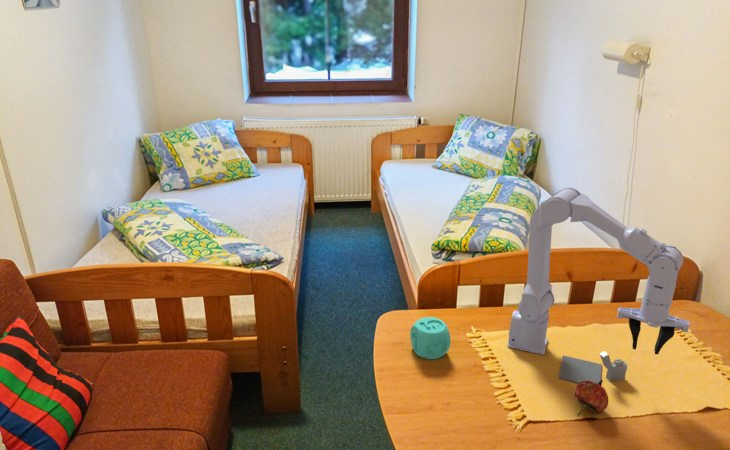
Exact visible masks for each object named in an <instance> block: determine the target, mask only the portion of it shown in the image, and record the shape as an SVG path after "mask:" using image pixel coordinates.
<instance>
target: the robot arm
mask: <svg viewBox="0 0 730 450" xmlns="http://www.w3.org/2000/svg"><path fill="white" fill-rule="evenodd" d="M569 218H570V223H575V222H576V223H579V222H587V223H589V224H591V225H592V226H594V227H596V228H597V229H599V230H601V231H603V232H604V233H606V234H607V235H609V236H611V237H612V238H614V239H616V240H617V242H618V245H619V248H620V249H622V250H623V251H624V252H625V253H627V254H629V255H630V256H632V257H633V258H635V260H638V261H639V262H641V263H642V264H643V265H646V266H647V270H648V272H649V273H648V277H647V279H646V283H645V288H644V292H643V296H642V300H641V305H640V308H634V307H633V308H631V307H629V308H628V307H622V306H620V307H619V306H618V310H617V315H616V317H617V319H628V326H629V329H630V333H631V338H632V345H631V347H632V350H635V351H636V349H637V348H638V347H637V346H638V339H639V335H640V331H641V330H642V329H641V328H642V327H641V324H642V323H645V324H647V325H648V327H651V328H656V329H657V328H659V331H658V335H657V339H656V341H655V345H654V350H653V351H654V354H655V355H659V353H660V352H661V350H662V349H663V347H664V346H665V344H666V343H667V342H669V340H672V338H673V337H674V335H675V333H676V332H675V329H677V330H681V331H682V333H688V332H689V330H690V329H689V328H690V320H687V319H682V318H680V317H676V316H673V315H671V314H669V313H670V309H671V306H672V302H673V298H674V294H675V290H676V288H677V287H676V286H677V280H678V274H679V270H680V269H681V267H682V266H683V263H684V255H683V254H682V252H681V251H680V250H679V249H678V248H677V247H676V246H674V245H668V244H666V243H665V242H662V243H661V242H660V241H658V240H657V239H655V237H654V238H653V237H652V236H651V235H649V234H648V231H647V230H646V229H645V228H641V229H640V228H638V226H637V227H636V226H635V227H627V226H626V225H624V224H623V223H622V222H620V221H619V220H618V219H616V218H615V217H614V216H612V215H611V214H610V213H608V212H607V211H605V210H604V209H603V208H601V207H600V206H598V205H597V204H596V203H594V201H593V200H591V199H590V197H589V196H588V195H587V194H585V193H581V192H580V191H579V190H578V189H576V188H573V187H564V188H562V189H560V190H559V191H557V192H555V193H553V195H551V196H550V197H548V198H547V199H546V200H544V201H542V202H540V204H539V206H538V207H537V209H535V211H534V213H532V215H531V216H530V219H529V233H528V236H529V237H528V253H527V254H528V255H527V258H528V259H527V275H526V277H527V278H526V285H525V287H524V289H523V292H522V294H521V300H520V301H519V303H518V305H517V310H513V312H512V315H511V318H510V319H511V320H510V327H509V329H508V341H507V347H508V348H513V349H515V350H516V349H517V350H520V351H525V352H529V353H533V354H536V355H541V356H544V355H545V353H546V348H547V344H548V341H549V340H548V339H549V338H548V337H547V331H548V325H549V320H550V319H549V318H550V314H549V309H550V308H551V307H553V306H554V303H555V296H554V293H553V291H552V290H553V289H552V288H553V285H552V284H551V283H550V268H551V267H550V263H551V262H550V261H551V249H552V246H551V245H552V230H553V226H554V225H555V224H560V223H564V222H565V221H567V220H568V219H569Z"/></svg>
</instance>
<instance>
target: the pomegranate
mask: <svg viewBox="0 0 730 450" xmlns="http://www.w3.org/2000/svg"><path fill="white" fill-rule="evenodd" d="M603 382H604V381H603V379H601V381H600V382H599V383H594V382H592V381H581V382H579V383H576V385H575V388H574V389H573V390H574V391H573V396H574V397H575V398H576V399H577V401H578V403H579V404H580V405H581V406H582V407H581V409H580V411H579V412H578V413H577V415H576V416H577V417H579V415H580V414H581V413H582V412H584V409H585V408H589V409H591V411H592V412H595V413H596V414H601V413H603V412H604V411H605V410H606V409H607V407H608V406H609V396H608V393H607V391H606V389H605V388H604V386H602V384H603Z"/></svg>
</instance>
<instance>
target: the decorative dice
mask: <svg viewBox="0 0 730 450" xmlns="http://www.w3.org/2000/svg"><path fill="white" fill-rule="evenodd" d="M449 330H450V329H449V328H448V326H447V324H446V323H445V322H444V320H442V319H440V318H438V317H433V316H427V317H421V318H419V319H417V321H415V322H414V323H413V324H412V325H411V328H410V332H409V333H410V334H409V336H410V343H411V346H412V349H413V351H414V353H415V355H417V356H418V357H420V358H422V359H425V360H437V359H440V358H441V357H443V356H444V355H445V354H446V353H447V352H448V351H449V349H450V347H451V334H450V331H449Z"/></svg>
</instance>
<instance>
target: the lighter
mask: <svg viewBox="0 0 730 450" xmlns="http://www.w3.org/2000/svg"><path fill="white" fill-rule="evenodd" d="M599 356H600V358H601V361H602V364H603V365H602V366H604V367H605V369H607V371H606V374H605V378H606V379H607V381H608V380H609V381H608V382H616V380H617V382H618V380H619V381H625V378H626V373H627V370H628V364H627V362H625V360H623V359H621V358H620V359H619V358H618V359H614V361H613V362H612V361H611V358H610V355H609V354H608V353H607V352H606V351H605V350H604V351H602V352H600V353H599Z"/></svg>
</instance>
